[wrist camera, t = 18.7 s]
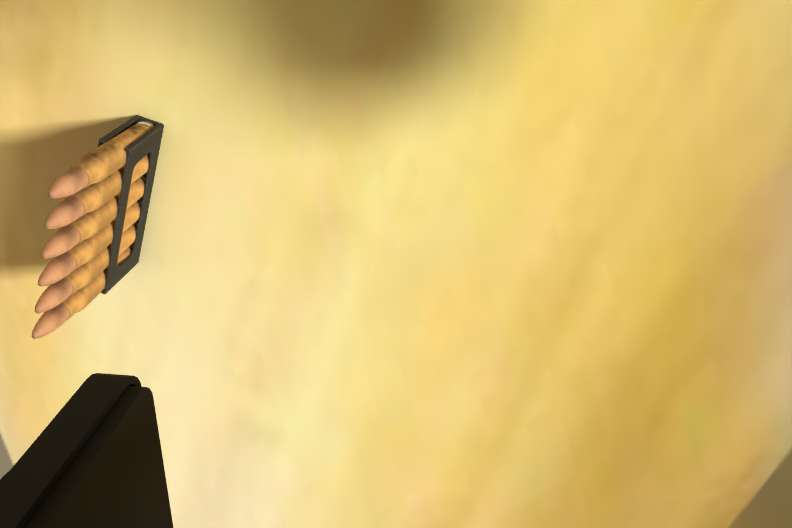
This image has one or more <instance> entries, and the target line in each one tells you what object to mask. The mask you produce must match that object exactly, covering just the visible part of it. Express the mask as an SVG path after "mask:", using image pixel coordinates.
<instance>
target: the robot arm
mask: <svg viewBox="0 0 792 528" xmlns="http://www.w3.org/2000/svg"><path fill="white" fill-rule="evenodd" d="M0 528H173V523H172V516H171V510H170V503H169V497H168V490H167V484H166V478H165V471H164V465H163V458H162V452H161V445H160V439H159V432H158V426H157V419H156V413H155V406H154V400H153V395H152V392H151V390H150V389H149V388H147V387H141V383H140V381H139V379H138V378H137V377H135V376H128V375H115V374H101V373H96V374H92V375H91V376H90V377H89V378H87V380H86V381H85V382H84V383H83V384H82V385H81V387H80V388H79V389H78V390H77V391H76V393H75V394H74V395H73V396H72V397H71V399H70V400H69V401H68V402H67V403H66V404H65V406H64V407H63V408H62V409H61V410H60V412H59V413H58V414H57V415H56V416H55V418H54V419H53V420H52V421H51V422H50V424H49V425H48V426H47V427H46V428H45V429H44V431H43V432H42V433H41V434H40V435H39V437H38V438H37V439H36V440H35V441H34V443H33V444H32V445H31V446H30V447H29V448H28V450H27V451H26V452H25V453H24V454H23V456H22V457H21V458H20V459H19V460H18V462H17V463H16V464H15V465H14V466H13V468H12V469H11V470H10V471H9V472H8V473H7V474H6V475H4V476H3V477H2V479H1V480H0Z"/></svg>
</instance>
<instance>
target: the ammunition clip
mask: <svg viewBox="0 0 792 528" xmlns="http://www.w3.org/2000/svg"><path fill="white" fill-rule="evenodd" d="M163 128H164V125H163V124H162V123H159V122H156V121H153V120H150V119H147V118H144V117H141V116H139V115H136V116H135V117H133V118H132V119H130V120H129V121H127V122H126V123H124V124H122V125H121V126H119V127H118V128H116V129H115V130H113V131H112V132H110V133H109V134H107V135H106V136H104V137H103V138H101V139H100V140H99V145H98V147H97V148H96V149H94V150H93V151H91V152H89V153H88V154H86V155H85V156H83V157H82V158H80V160H79V161H78V162H77V163H76V165H74V166H73V167H71V168H70V169H69V170H68V171H67V172H65V173H64V174H62V175H61V176H60V177H59V178H58V179H57V180H56V181H55V182H54V183H53V185H52V186H51V188H50V190H49V193H48V196H49V197H50V198H54V199H58V198H63V197H67V196H68V197H67V198H66V199H65V200H64V201H63V202H61V203H60V204H59V205H57V206H56V207H55V208H54V209H53V210H52V212H51V213H50V214H49V216H48V218H47V219H46V222H45V228H46V229H56V228H60V227H62V228H61V229H60V230H59V231H57V232H56V233H55V234H54V235H53V236H52V237H51V238H50V239H49V240H48V242H47V243H46V245H45V246H44V248H43V250H42V253H41V257H42V258H43V259H48V258H53V257H55V258H54V259H53V260H52V261H51V262H50V263H49V264H48V265H47V266H46V267H45V269H44V270H43V272H42V273H41V275H40V277H39V280H38V285H39V286H48V285H49V286H48V287H47V289H46V290H45V291H44V292H43V293H42V295H41V296H40V298H39V300H38V301H37V303H36V306H35V312H36V313H42V312H44V314H43V315H42V316H41V317H40V319H39V320H38V322H37V323H36V325H35V327H34V329H33V332H32V338H34V339H36V338H41V337H43V336H45V335H47V334H49V333H51V332H53V331H54V330H56V329H57V328H58V327H60V326H61V325H62V324H63V323H64V322H65V321H66V320H68V319H69V318H71V317H72V316H73V315H74V314H75V313H77V312H79V311H81V310H82V309H84V308H85V307H86V306H87V305H88V304H89V303H90V302H91V301H92V300H93V299H94V298H95V297H96V296H97V295H98V294H99V293H100V292H101V293H103V294H106V293H107V292H108V291H109V290H110V289H111V288H112V287H113V286H114V285H115V284H116V283H118V282H119V281H120V280H121V279H122V278H123V277H124V276H125V275H126V274H127V273H128V272H129V271H130V270H131V269H132V268H133V267H134V266H135V265H136V264H137V263H138V261H139V256H140V251H141V245H142V240H143V235H144V229H145V224H146V219H147V213H148V208H149V202H150V197H151V192H152V186H153V181H154V176H155V170H156V165H157V160H158V154H159V149H160V144H161V138H162V133H163ZM104 288H105V289H104Z"/></svg>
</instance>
